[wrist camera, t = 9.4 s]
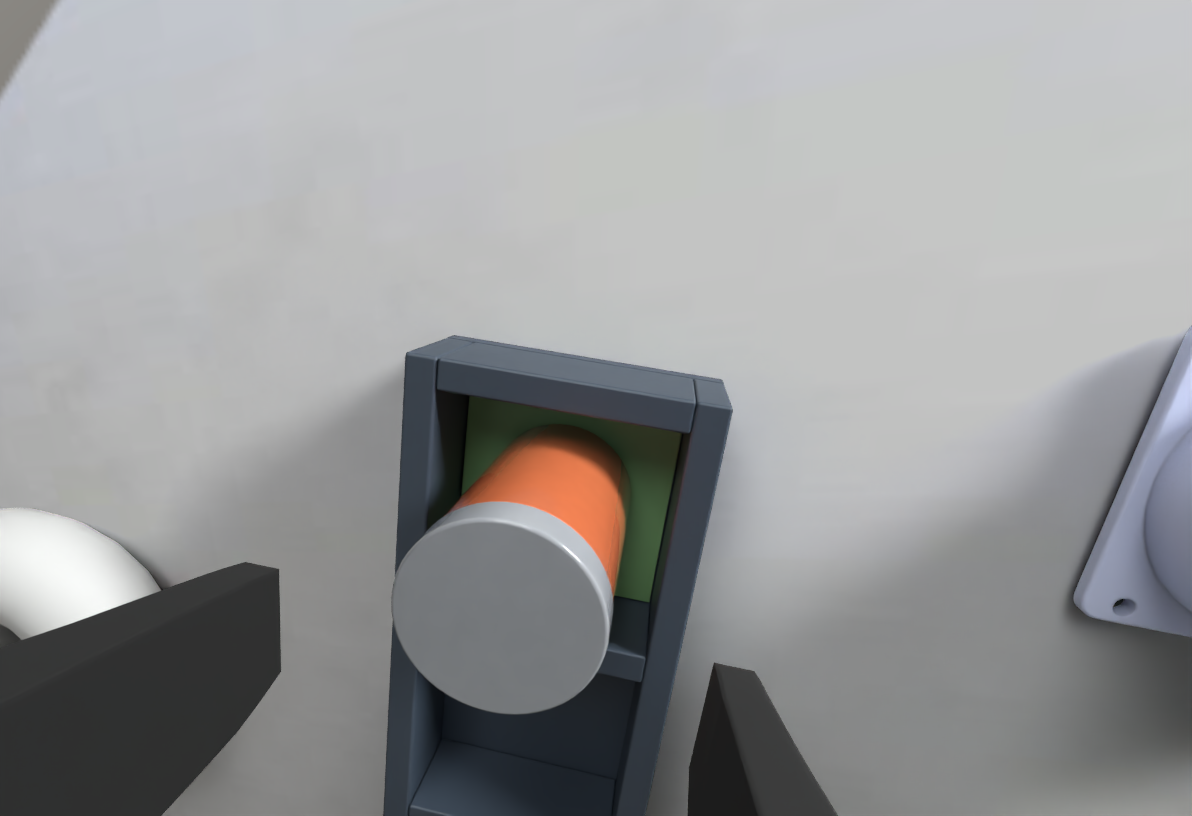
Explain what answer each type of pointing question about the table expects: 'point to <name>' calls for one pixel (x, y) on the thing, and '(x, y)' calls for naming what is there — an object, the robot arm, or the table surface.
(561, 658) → the salt shaker
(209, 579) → the robot arm
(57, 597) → the donut
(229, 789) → the table surface
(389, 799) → the tray
